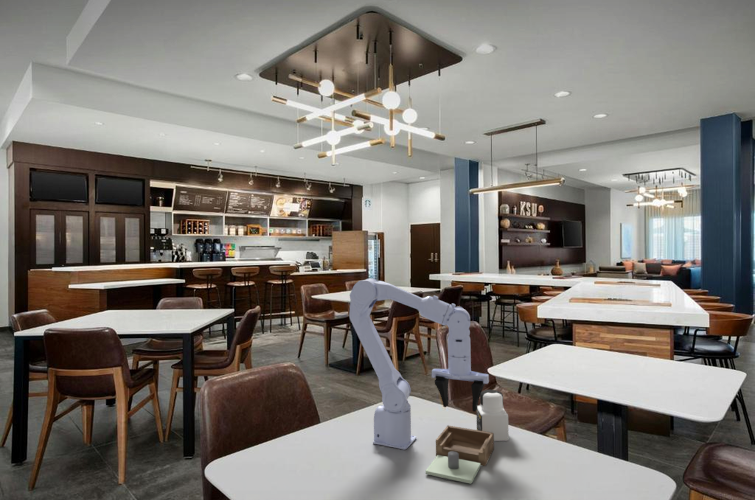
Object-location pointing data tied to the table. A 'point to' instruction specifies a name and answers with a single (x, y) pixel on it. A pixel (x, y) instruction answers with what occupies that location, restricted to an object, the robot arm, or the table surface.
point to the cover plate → (453, 474)
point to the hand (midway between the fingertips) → (460, 408)
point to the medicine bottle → (492, 415)
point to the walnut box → (466, 444)
